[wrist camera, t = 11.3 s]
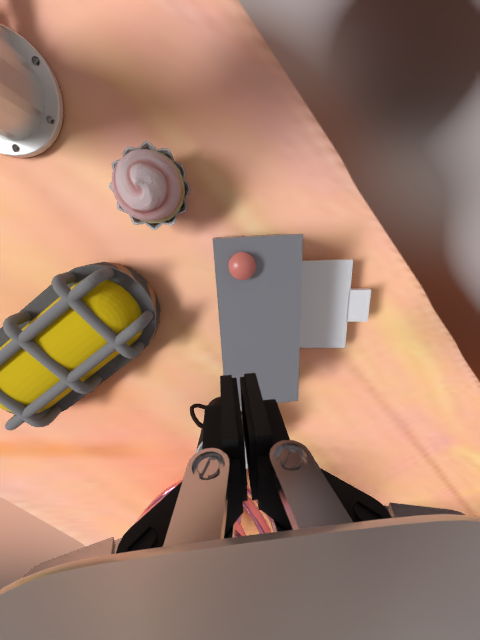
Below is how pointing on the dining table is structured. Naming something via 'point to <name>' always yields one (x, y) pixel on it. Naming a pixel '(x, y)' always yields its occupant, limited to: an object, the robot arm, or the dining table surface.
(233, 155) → the dining table surface
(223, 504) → the robot arm
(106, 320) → the cage light
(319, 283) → the side door
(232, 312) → the block
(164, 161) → the cupcake
